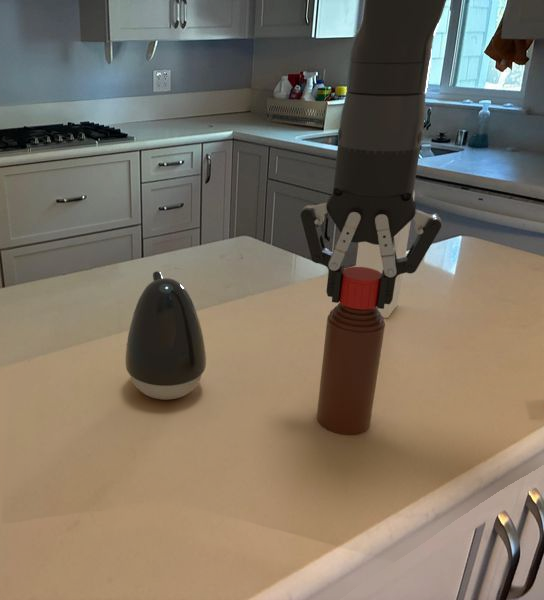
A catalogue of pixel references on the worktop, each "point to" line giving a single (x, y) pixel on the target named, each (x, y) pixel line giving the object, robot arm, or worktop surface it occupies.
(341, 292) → the cap
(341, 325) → the bottle
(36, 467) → the worktop surface
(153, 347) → the dark grey egg-shaped piece
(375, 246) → the milk
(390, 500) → the worktop surface
